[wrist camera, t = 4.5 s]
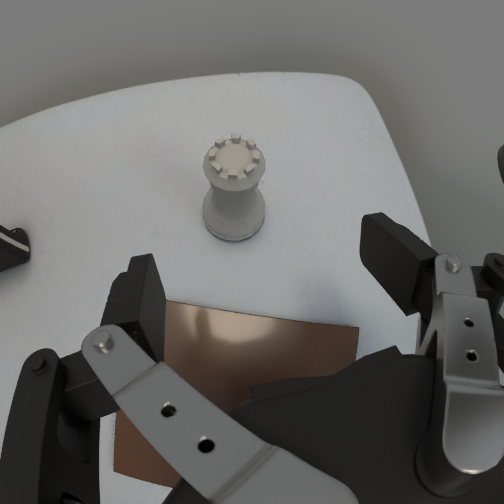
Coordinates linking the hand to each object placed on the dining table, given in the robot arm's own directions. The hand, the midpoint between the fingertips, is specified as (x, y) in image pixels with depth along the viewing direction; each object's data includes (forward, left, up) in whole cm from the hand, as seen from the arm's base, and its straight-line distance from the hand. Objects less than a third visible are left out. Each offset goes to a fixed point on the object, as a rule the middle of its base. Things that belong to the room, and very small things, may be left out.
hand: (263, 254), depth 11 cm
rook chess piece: (+2, -5, -10) cm, 12 cm away
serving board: (0, +9, -10) cm, 13 cm away
